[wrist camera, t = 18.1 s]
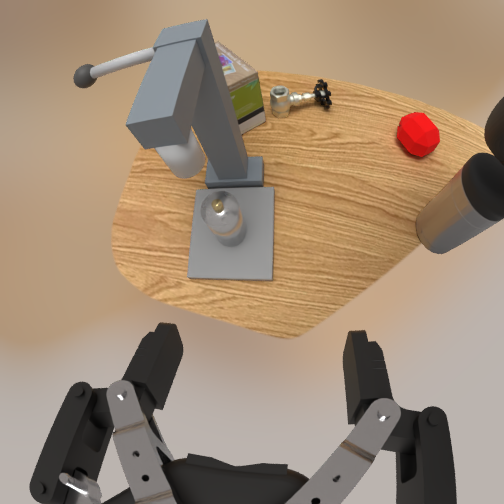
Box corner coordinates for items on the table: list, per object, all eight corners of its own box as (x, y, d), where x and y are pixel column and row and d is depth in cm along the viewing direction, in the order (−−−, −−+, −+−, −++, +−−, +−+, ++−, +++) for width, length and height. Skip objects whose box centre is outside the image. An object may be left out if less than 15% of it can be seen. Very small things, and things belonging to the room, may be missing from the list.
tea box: (195, 106, 58) (174, 60, 44) (232, 86, 58) (219, 39, 44) (225, 145, 54) (206, 95, 40) (267, 122, 54) (259, 69, 40)
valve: (276, 125, 54) (330, 114, 53) (273, 104, 48) (333, 93, 47) (267, 104, 56) (319, 94, 55) (264, 83, 49) (320, 73, 49)
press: (272, 280, 46) (234, 191, 15) (149, 276, 49) (5, 214, 18) (274, 164, 51) (251, 11, 21) (164, 171, 54) (76, 58, 24)
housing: (237, 211, 48) (225, 179, 37) (252, 236, 47) (243, 210, 36) (210, 226, 48) (191, 198, 37) (224, 252, 47) (207, 230, 35)
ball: (412, 125, 50) (423, 103, 43) (435, 153, 48) (449, 132, 40) (388, 136, 50) (397, 112, 43) (412, 165, 48) (425, 144, 40)
